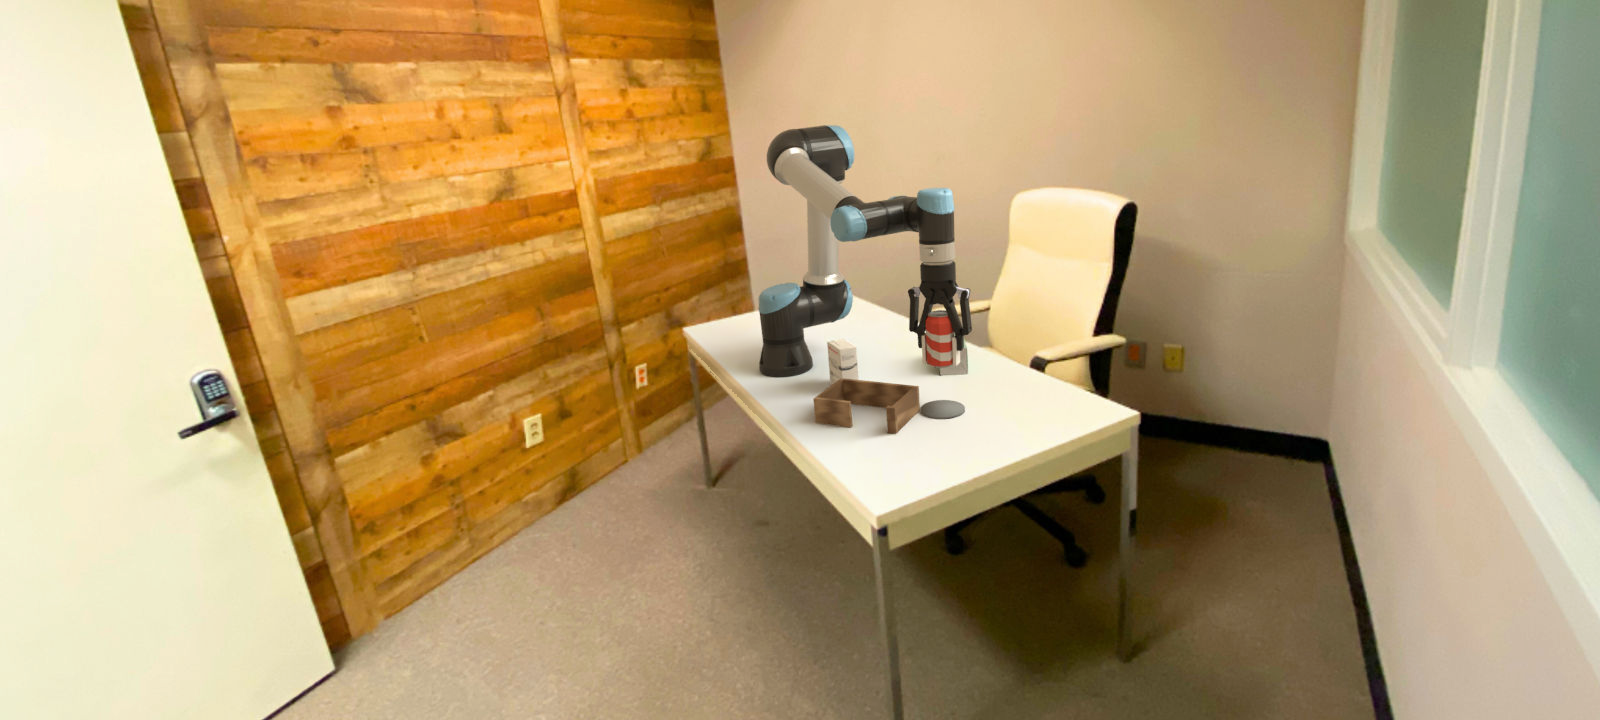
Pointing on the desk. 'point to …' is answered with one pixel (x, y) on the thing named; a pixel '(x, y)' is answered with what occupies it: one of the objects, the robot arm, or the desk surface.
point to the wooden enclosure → (867, 402)
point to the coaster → (942, 409)
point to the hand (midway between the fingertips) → (941, 362)
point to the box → (960, 368)
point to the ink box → (842, 360)
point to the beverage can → (939, 339)
